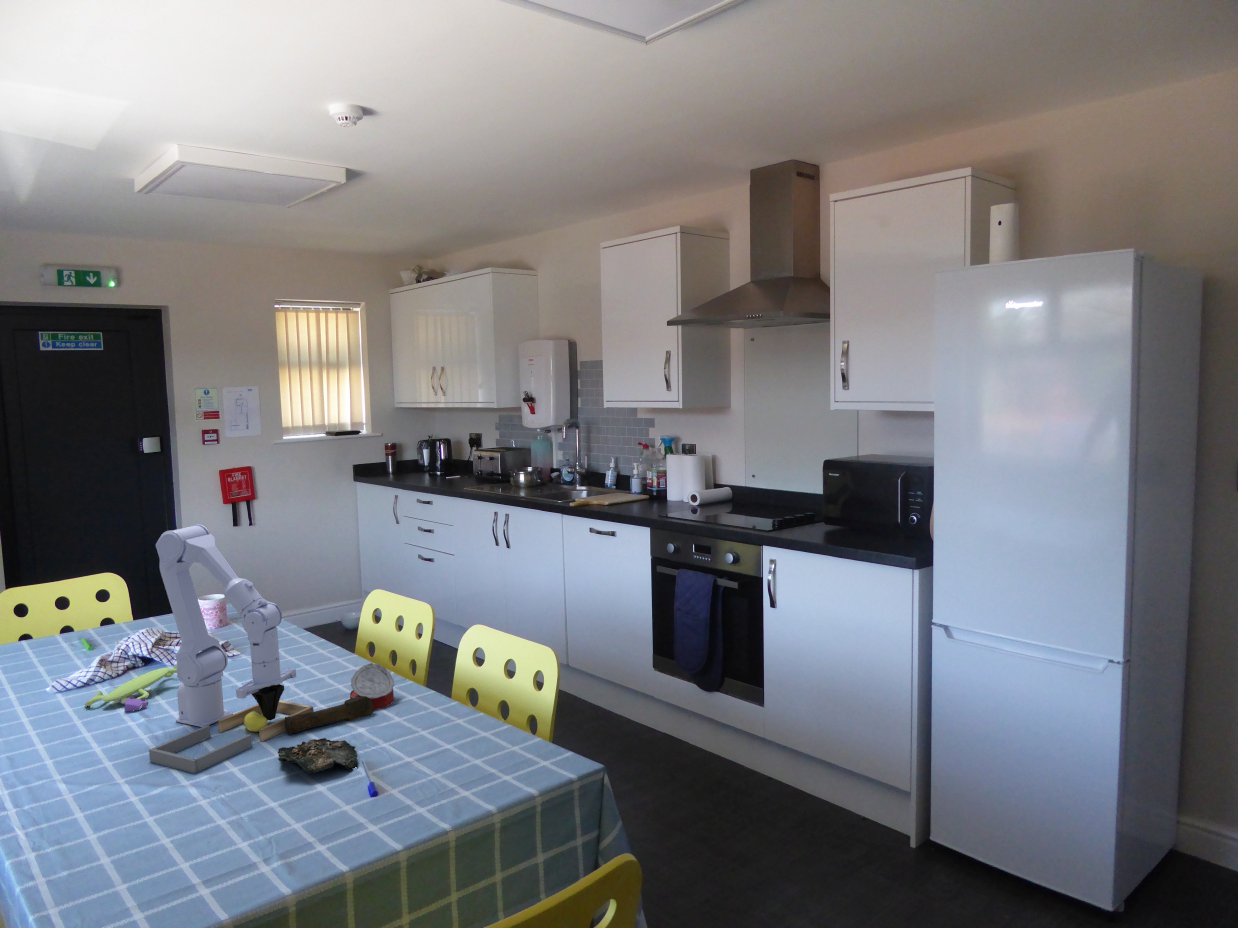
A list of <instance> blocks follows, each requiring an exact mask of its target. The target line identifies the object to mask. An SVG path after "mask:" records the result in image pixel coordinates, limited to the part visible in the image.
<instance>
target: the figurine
mask: <svg viewBox="0 0 1238 928" xmlns="http://www.w3.org/2000/svg"><path fill="white" fill-rule="evenodd" d="M174 674H177V664H175V665H174V666H173V668H169V667H163V668H158V669H155V670H151V671H148V672H146V673H143V674H141V675H139V676H136V677H134V678H132V679H131V680H129V681H126V682H124V683H123V684H122V685H120V686H118V687H115V688H114V690H112V691H111V692H109V693H108V694H105V695H103V694H104V693H103V691H101V690H100V691H98V693H96V695H94V696H93V697H92V698H91V699H89V700H87V701H86V702H85V703H84V706H85V707H86V708H88V707H87V706H89V707H91V706H92V705H93V704H95V703H97V702H98V701H101V700H103V702H105V703H110V702H114V703H115V704H119V703H121V704H122V705H124V712H129V711H131V712H134V711H133V710H139V711H141V710H142V709H141V708H144V709H146V708H147V707H146V706H147V705H148V700H147V698H149V696H150V693H151V691H150V690H145V689H147V688H149V687H151V686H152V685H155V683H157V682H159V681H161V680H162V678H171V677H172V676H173V675H174ZM176 678H178V676H177V675H176ZM137 693H138V694H139V695H141V696H139V697H137V698H135V696H134V694H137ZM140 709H141V710H140Z"/></svg>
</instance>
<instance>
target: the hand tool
mask: <svg viewBox="0 0 1238 928" xmlns="http://www.w3.org/2000/svg"><path fill="white" fill-rule="evenodd" d="M374 712H375V710H374V705H373V703H372V701H371V700H370V698H368V697H366V696H361V697H357V698H350V697H349V698H348V699H346V700H344V703H341V704H339V705H335V706H332V707H327V708H322V709H319V710H315V711H314V712H308V713H305V714H301V715H297V716H293V717H288V716H285V717H284V718H285V729H286V731H285V732H286V734H287V736H291V735H292V734H298V733H299V732H302V731H305V730H309V729H313V728H316V727H320V726H324V725H327V724H332V723H336V722H339V721H344V720H346V721H355V719H356V720H358V718H359V719H361V718H364V717H366V716H369V715H371V714H373V713H374Z"/></svg>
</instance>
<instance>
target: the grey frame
mask: <svg viewBox="0 0 1238 928" xmlns="http://www.w3.org/2000/svg"><path fill="white" fill-rule="evenodd" d="M210 738H211V726H210V725H207V726H204V727H199V728H198V729H196V730H193V731H191V732H189V733H185V734H183V735H181V736H179V737H175V738H173V739H171V740H169V741H167V742H165V743H162V744H160V745H156V746H154V747H153V748H150V749H148V756H149V762H150V763H153V764H157V765H161V766H165V767H167V768H172V769H176V770H180V771H183V772H188V773H190V774H197V773H199V772H202V771H203V770H205V769H209V767H212V766H214V765H216V764H218V763H220V762H223V761H224V760H227V759H229V758H231V757H234V756H235V755H237V754H239V753H241V752H244V751H246V750H248V749H250V748H252V747H253V743H252V742H253V740H252V734H245V735H244V736H242V737H239V738H237V739H235V740H233V741H230V742H229V743H226V744H225V745H221V746H220V747H218V748H216V749H213V750H211V751H209V752H207V753H204V754H202V755H200V756H198V757H197V756H196V757H195V758H194V757H189V756H185V755H183V754H182V755H181V754H177V753H178V752H180V751H182V750H184V749H186V748H188V747H189V748H190V747H192V746H194V745H196V744H198V743H200V742H202V741H203V742H204V741H205V740H208V739H210Z"/></svg>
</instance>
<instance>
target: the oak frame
mask: <svg viewBox="0 0 1238 928" xmlns="http://www.w3.org/2000/svg"><path fill="white" fill-rule="evenodd" d="M250 712H257V713H259V714H261V715H262V716H263V714H262V711H261V709H260V706H259V705H258V703H257V704H255V705H252V706H250V707H248V708H245V709H243V710H241V711H238V712H236V713H233V715H231V716H228V717H226V718H224V719H221V720H219V721H217V725H218V732H219V733H223V732H225V731H228V730H230V729H232V728H236V727H238V726H239V725H242V724H244V719H245V716H246V715H247V714H248V713H250ZM308 712H315V711H314V706H312V705H306V704H300V703H297V702H290V701H284V700H281V699H280V700H279V703H278V707H277V712H276V713H280V714H285V715H288V716H287V717H293V716H297V715H301V714H305V713H308ZM284 732H286V729H285V717H284V718H281V719H280V720H277V721H276V722H273V723H270V724H269V725H268V724H267V726H266V727H264V728H262V729H259V733H258V734H259V735H258V736H259V742H265V741H266V740H269V739H272V738H274V737H276V736H278V735H279V734H281V733H284Z"/></svg>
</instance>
